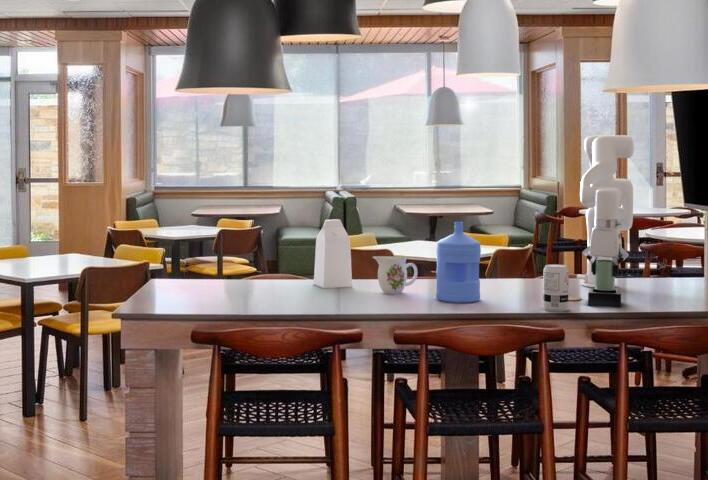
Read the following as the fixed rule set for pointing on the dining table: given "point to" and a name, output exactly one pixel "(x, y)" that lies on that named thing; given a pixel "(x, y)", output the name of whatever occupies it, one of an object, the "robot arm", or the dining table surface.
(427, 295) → the dining table surface
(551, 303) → the supplement can
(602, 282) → the cup
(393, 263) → the pitcher
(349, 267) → the milk
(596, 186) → the robot arm
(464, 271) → the water jug
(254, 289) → the dining table surface
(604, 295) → the black square frame
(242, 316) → the dining table surface
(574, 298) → the coaster
